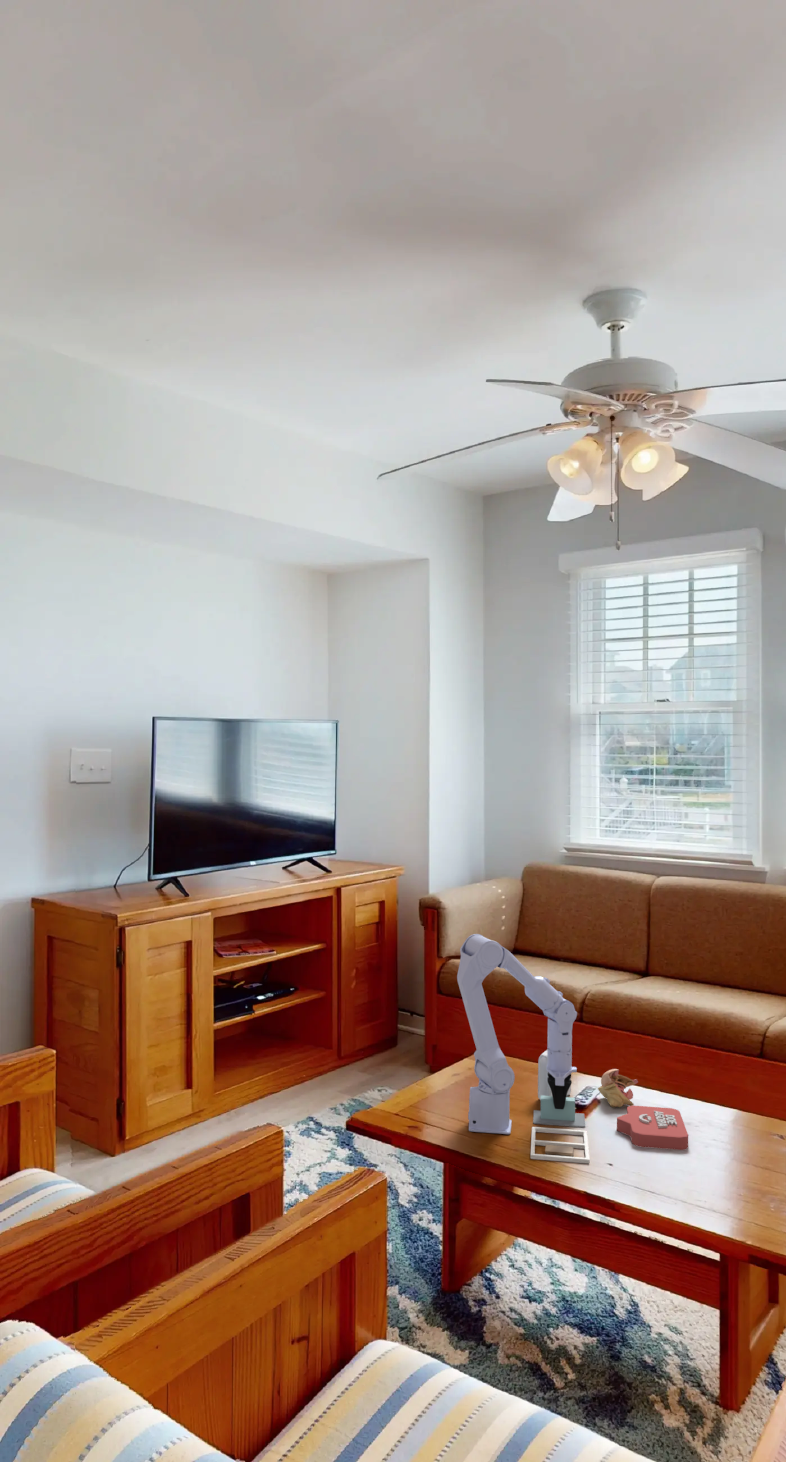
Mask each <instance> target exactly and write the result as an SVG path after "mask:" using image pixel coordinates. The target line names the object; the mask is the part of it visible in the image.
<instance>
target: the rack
mask: <svg viewBox="0 0 786 1462" xmlns="http://www.w3.org/2000/svg"><path fill="white" fill-rule="evenodd" d="M536 1133H546V1134H547V1133H548V1134H561V1135H573V1136H574V1135H575V1136H583V1142H580V1143H579V1142H568V1141H567V1142H566V1141H554V1140H553V1141H552V1140H540V1139H536ZM530 1137H531V1139H530V1140H531V1141H530V1159H531V1160H541V1161H553V1162H554V1161H555V1162H565V1163H566V1162H567V1163H577V1164H591V1163H590V1161H591V1159H590V1150H589V1149H590V1148H589V1138H588V1131H587V1130H582V1129H581V1130H579V1129H568V1128H556V1127H555V1128H553V1127H540V1126H532V1127H531V1136H530ZM546 1145H556V1146H567V1147H573V1149H581V1150H582V1149H584V1156H585V1157H581V1156H574V1157H569V1156H556V1155H546V1154H542V1153H541V1154H540V1153H536V1152H535V1151H536V1150H535V1149H536V1146H543V1147H546Z"/></svg>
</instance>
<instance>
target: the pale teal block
mask: <svg viewBox="0 0 786 1462" xmlns="http://www.w3.org/2000/svg"><path fill="white" fill-rule="evenodd" d="M540 1111H541V1119H554V1120H568V1121H575V1113H576V1098H575V1097H569V1096H566V1101H565V1106H564V1109H555V1107H554V1103H553V1096H542V1095H541V1100H540Z"/></svg>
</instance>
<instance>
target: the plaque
mask: <svg viewBox="0 0 786 1462" xmlns="http://www.w3.org/2000/svg"><path fill="white" fill-rule="evenodd" d="M616 1131H618V1132H619V1133H622V1134H624V1135H626V1136H629V1137H630V1140H631V1144H632V1145H633V1146H636V1147H640V1148H648V1149H649V1148H652V1149H665V1150H679V1151H685V1150H687V1149H689V1134H688V1131H687V1128H686V1126H685V1122H684V1119H683V1117H682V1113H681V1112H680V1111H679V1110H678V1109H675V1108H672V1107H658V1106H645V1105H633V1106H629V1105H627V1108H626V1114H622V1115H620V1116H617V1117H616Z"/></svg>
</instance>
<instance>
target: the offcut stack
mask: <svg viewBox="0 0 786 1462" xmlns="http://www.w3.org/2000/svg"><path fill="white" fill-rule="evenodd" d="M544 1153H545V1155H556V1156H569V1157H575V1148H573V1147H567V1146H556V1145H546V1146H545V1149H544Z"/></svg>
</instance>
